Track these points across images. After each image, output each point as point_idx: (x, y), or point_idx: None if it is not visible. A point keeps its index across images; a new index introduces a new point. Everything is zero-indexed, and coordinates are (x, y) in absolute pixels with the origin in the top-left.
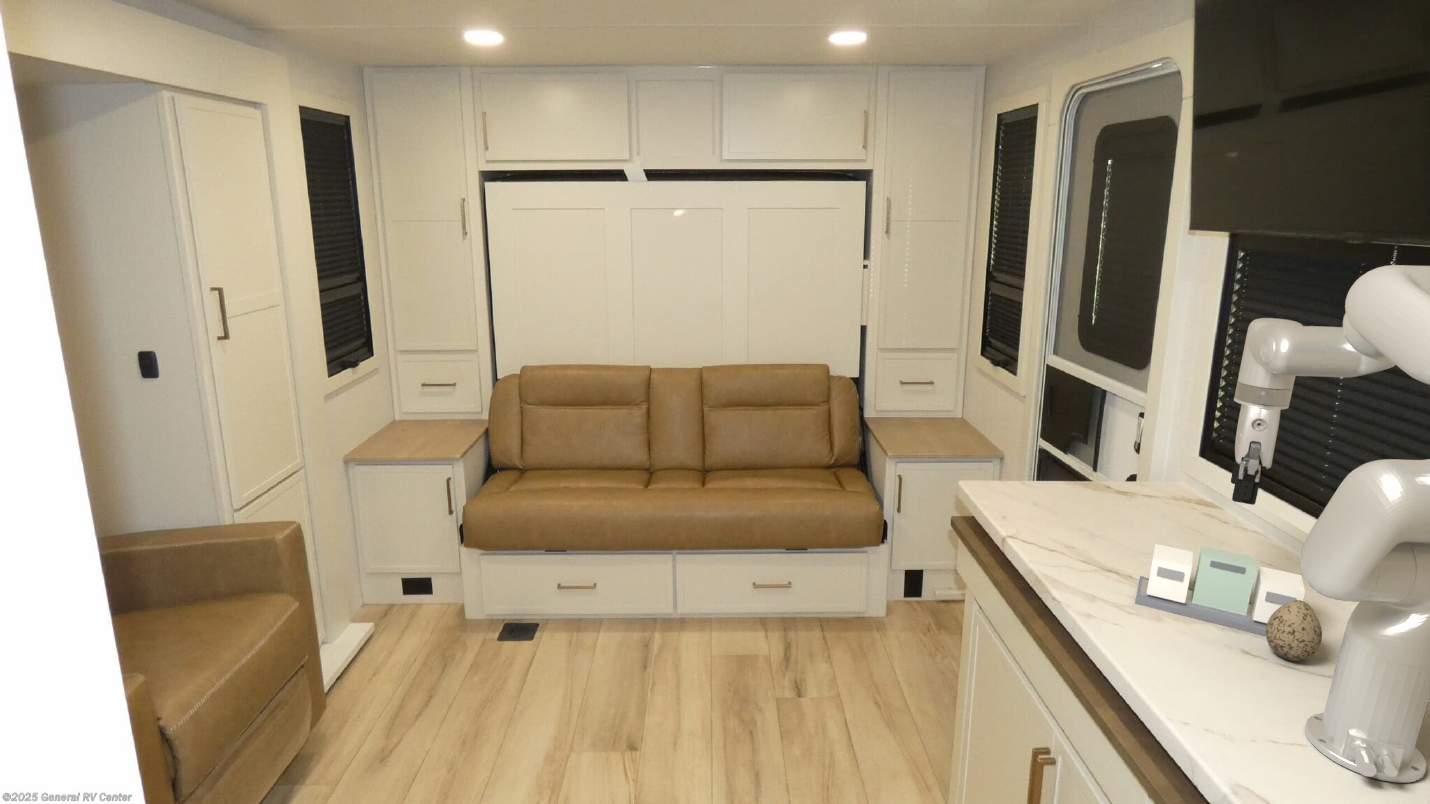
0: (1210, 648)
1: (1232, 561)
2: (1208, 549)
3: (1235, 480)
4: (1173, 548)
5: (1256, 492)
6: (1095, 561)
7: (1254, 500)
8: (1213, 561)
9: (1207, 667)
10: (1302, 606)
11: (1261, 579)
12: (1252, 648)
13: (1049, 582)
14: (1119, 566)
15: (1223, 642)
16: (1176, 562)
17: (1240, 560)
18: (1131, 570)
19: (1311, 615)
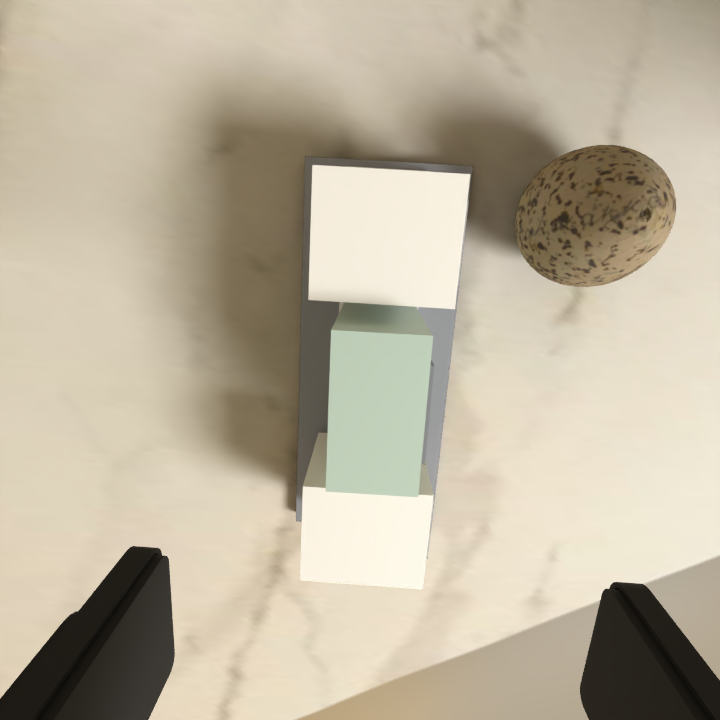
0: (583, 385)
1: (419, 408)
2: (345, 472)
3: (163, 670)
4: (307, 536)
5: (711, 681)
6: (241, 596)
7: (656, 612)
8: (424, 457)
9: (677, 396)
10: (665, 211)
11: (430, 305)
12: (541, 296)
13: (413, 670)
14: (237, 550)
15: (539, 356)
16: (421, 533)
17: (395, 382)
18: (244, 527)
19: (664, 182)
